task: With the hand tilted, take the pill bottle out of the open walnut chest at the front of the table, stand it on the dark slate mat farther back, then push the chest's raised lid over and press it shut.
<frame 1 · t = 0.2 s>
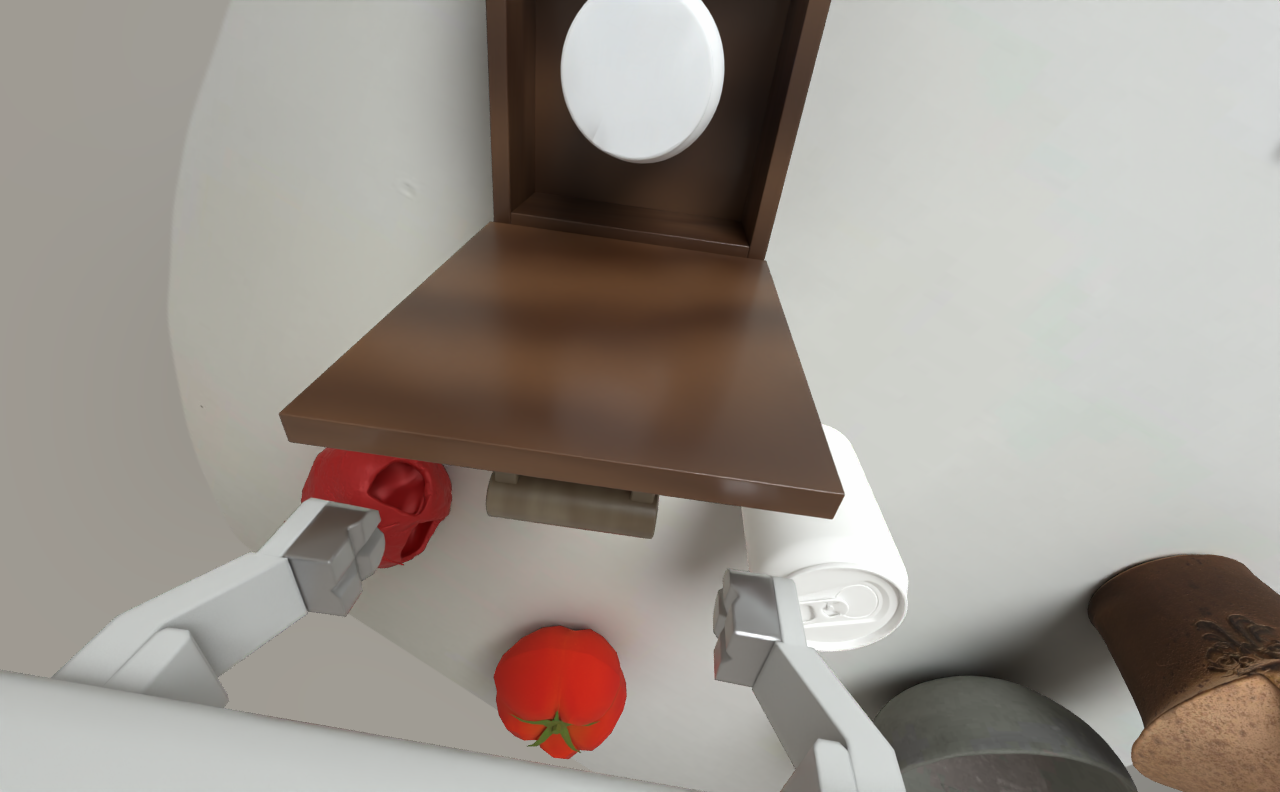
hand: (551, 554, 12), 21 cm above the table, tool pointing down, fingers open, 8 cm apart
beverage can: (793, 459, 37), on the table
bowl: (948, 691, 51), on the table
pitcher: (1160, 592, 41), on the table
chest: (654, 72, 24), on the table
chest lid: (601, 372, 19), point 13 cm above the table, hinge at 92.0°
tomato: (569, 643, 51), on the table
pill bottle: (653, 73, 24), point 1 cm above the table, touching chest
red crowned fruit: (403, 465, 40), on the table
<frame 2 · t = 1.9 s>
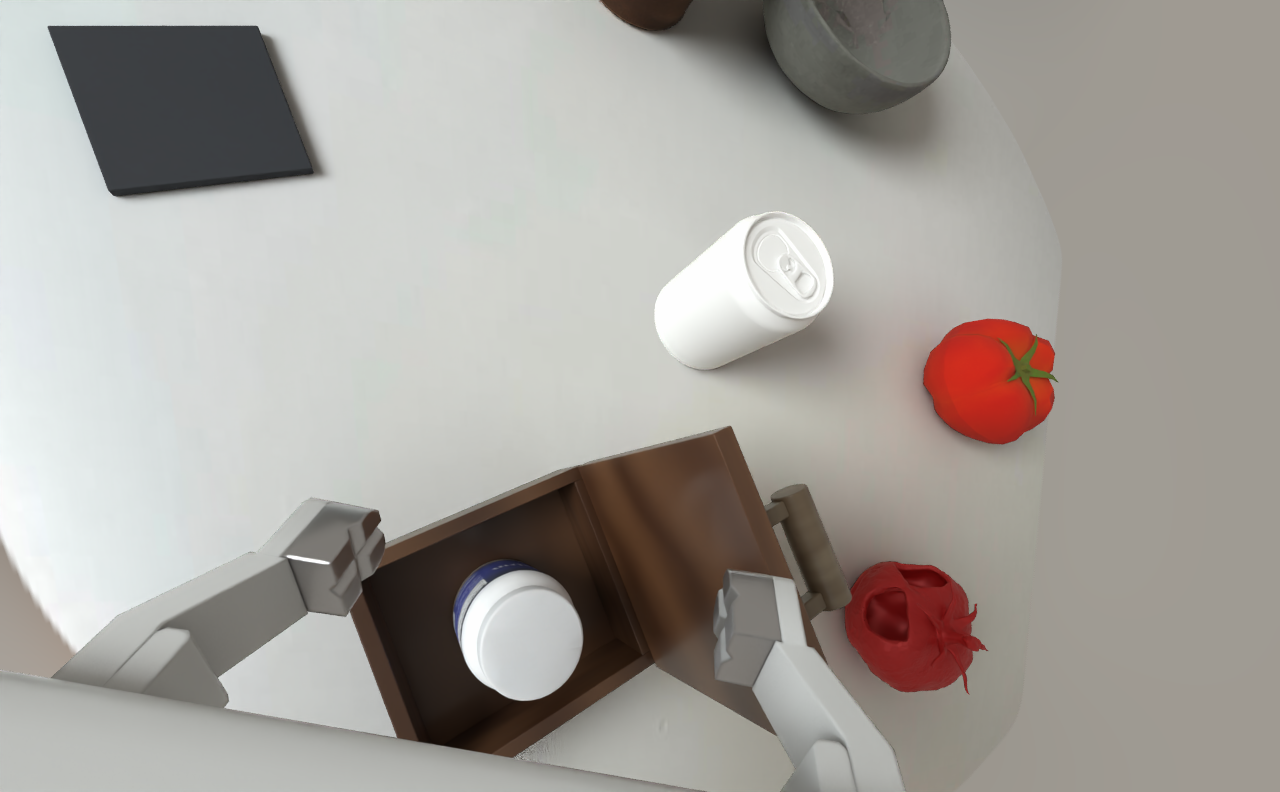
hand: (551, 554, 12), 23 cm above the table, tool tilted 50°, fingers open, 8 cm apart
beverage can: (693, 325, 43), on the table
bowl: (804, 64, 55), on the table
chest: (497, 603, 33), on the table
chest lid: (717, 556, 25), point 13 cm above the table, hinge at 92.0°
mat: (192, 108, 31), on the table
tomato: (947, 389, 54), on the table
pill bottle: (499, 604, 32), point 1 cm above the table, touching chest
red crowned fruit: (872, 614, 45), on the table
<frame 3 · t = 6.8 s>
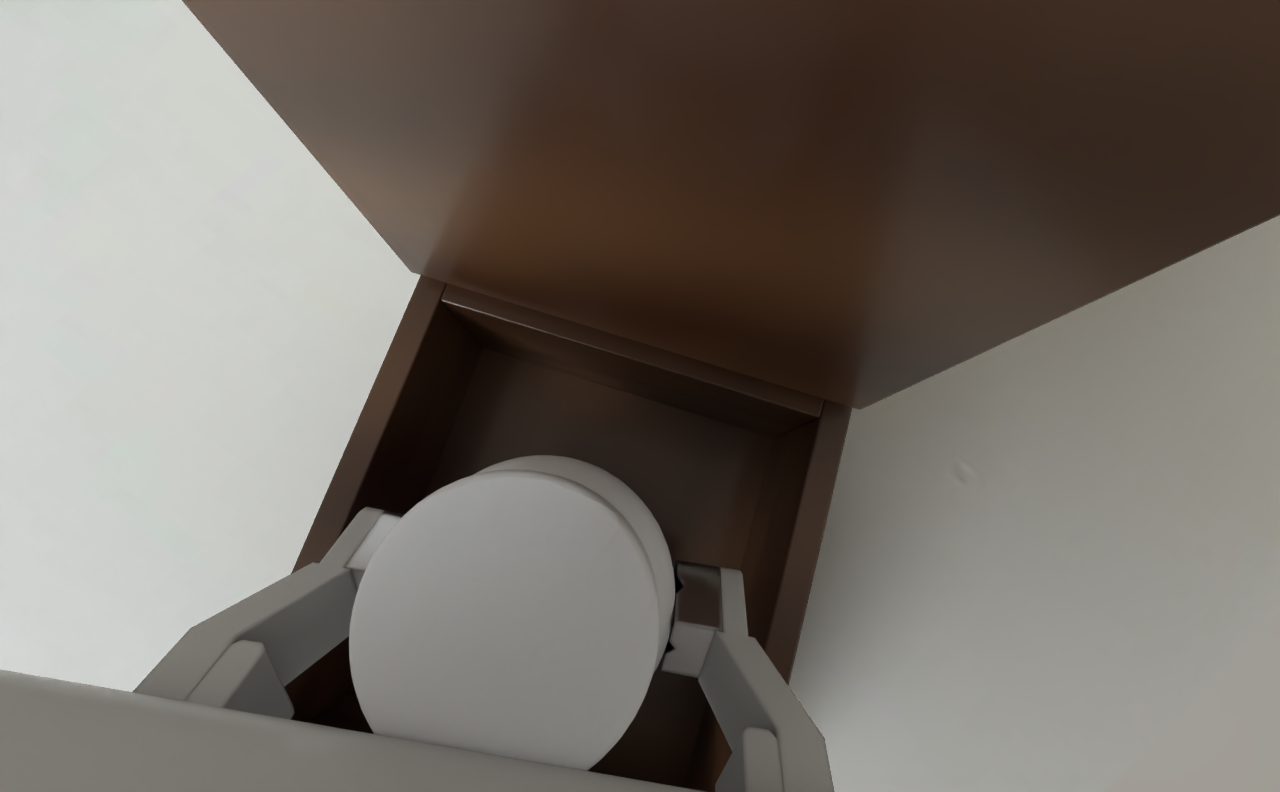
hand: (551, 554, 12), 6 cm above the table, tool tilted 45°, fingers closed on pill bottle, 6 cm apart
chest: (575, 555, 18), on the table
chest lid: (694, 7, 7), point 13 cm above the table, hinge at 92.0°
pill bottle: (573, 557, 17), point 1 cm above the table, touching chest, gripper
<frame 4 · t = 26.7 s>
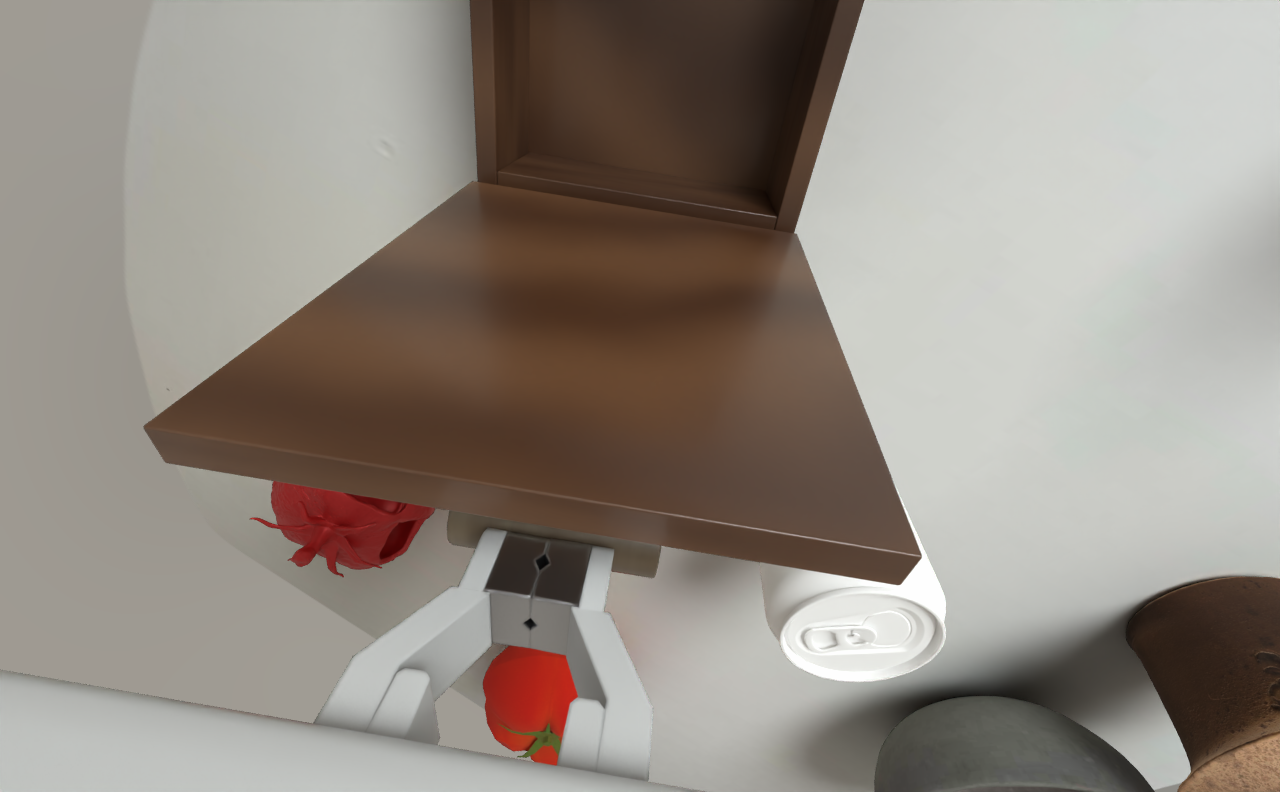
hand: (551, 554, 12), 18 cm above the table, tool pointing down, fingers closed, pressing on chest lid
beverage can: (811, 462, 33), on the table
bowl: (966, 709, 48), on the table
pitcher: (1208, 614, 38), on the table
chest: (669, 10, 21), on the table
chest lid: (597, 365, 15), point 13 cm above the table, hinge at 93.4°, touching gripper
tomato: (564, 647, 49), on the table
red crowned fruit: (386, 458, 37), on the table
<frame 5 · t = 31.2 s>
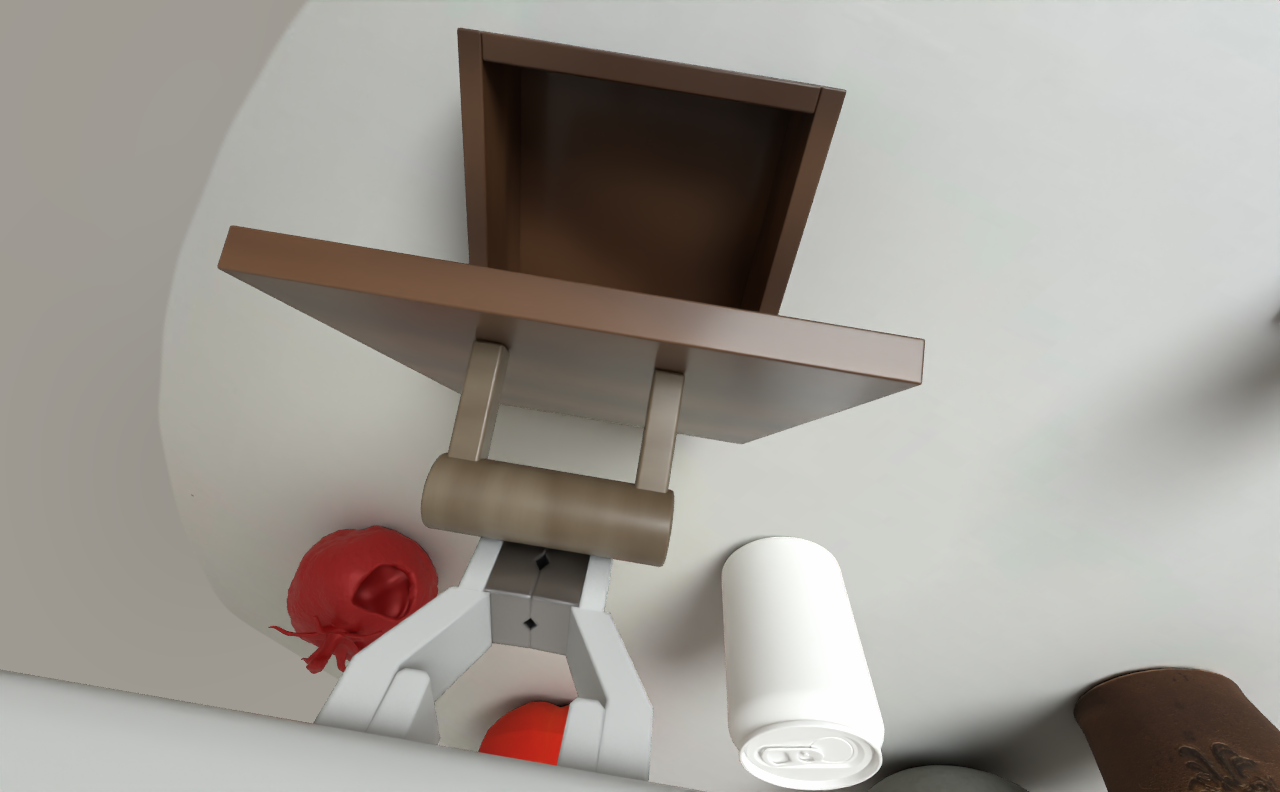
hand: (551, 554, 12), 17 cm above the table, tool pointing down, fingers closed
beverage can: (778, 566, 37), on the table
bowl: (934, 773, 51), on the table
pitcher: (1147, 698, 41), on the table
chest: (639, 228, 24), on the table
chest lid: (585, 446, 16), point 12 cm above the table, hinge at 47.1°
tomato: (555, 713, 52), on the table
red crowned fruit: (390, 554, 40), on the table
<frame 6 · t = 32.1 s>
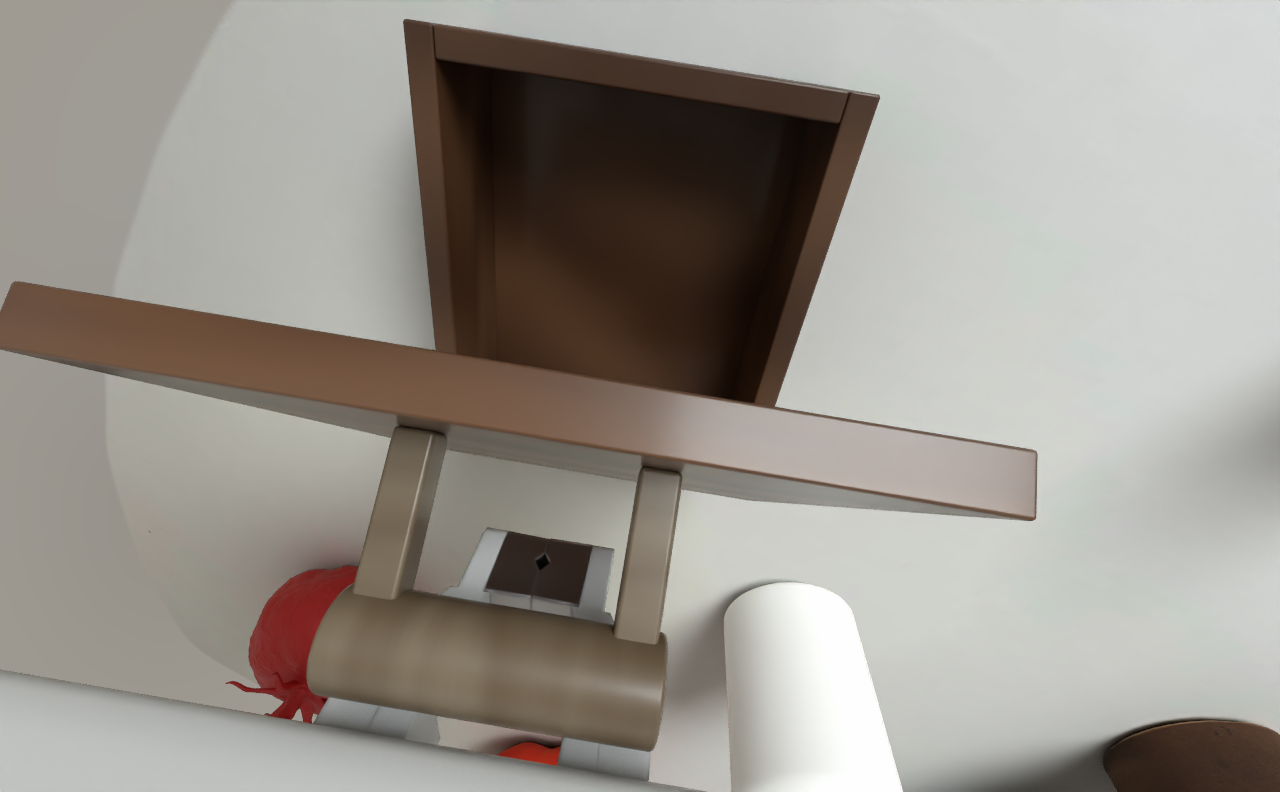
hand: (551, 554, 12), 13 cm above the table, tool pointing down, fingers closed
beverage can: (785, 611, 34), on the table
pitcher: (1183, 748, 38), on the table
chest: (631, 251, 21), on the table
chest lid: (560, 529, 13), point 12 cm above the table, hinge at 46.0°
tomato: (546, 753, 49), on the table
red crowned fruit: (366, 593, 37), on the table
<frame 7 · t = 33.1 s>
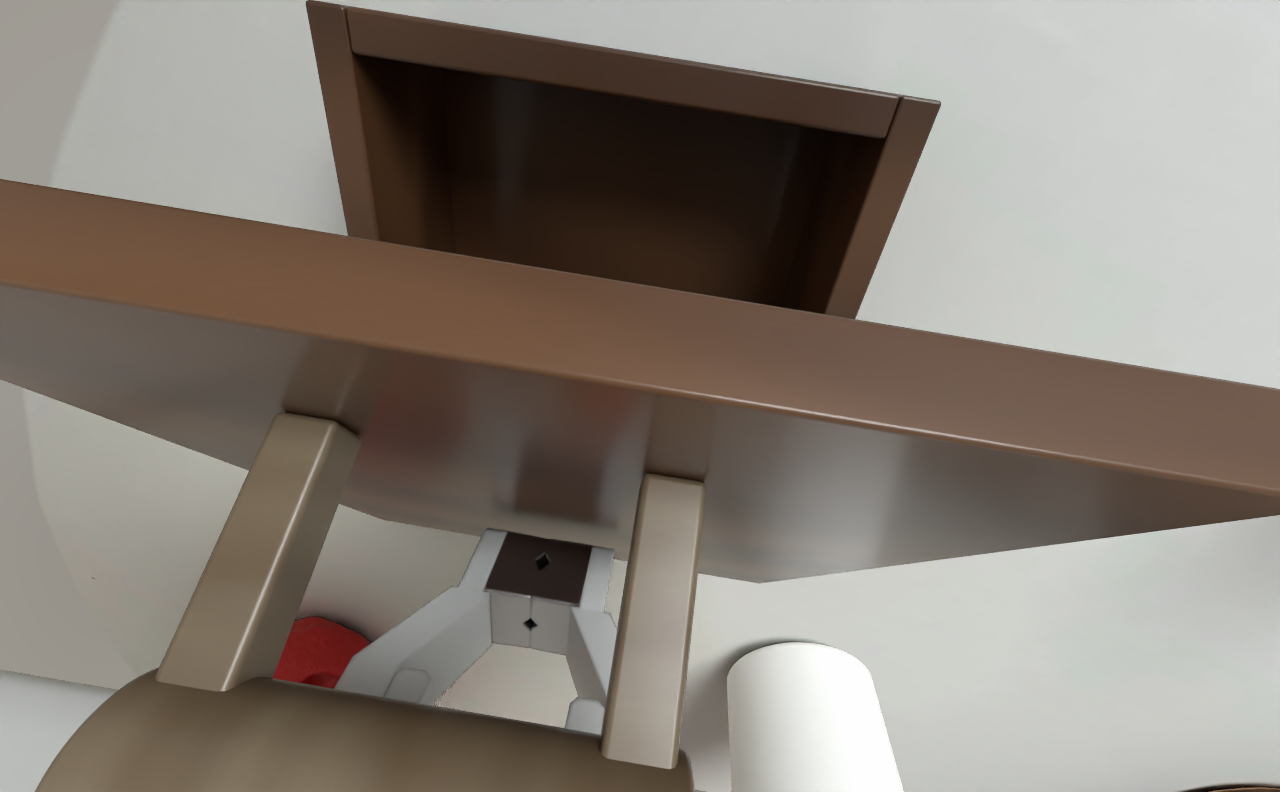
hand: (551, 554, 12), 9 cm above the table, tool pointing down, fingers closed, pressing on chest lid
beverage can: (795, 669, 30), on the table
chest: (619, 283, 18), on the table
chest lid: (526, 605, 10), point 12 cm above the table, hinge at 34.2°, touching gripper
red crowned fruit: (333, 643, 34), on the table
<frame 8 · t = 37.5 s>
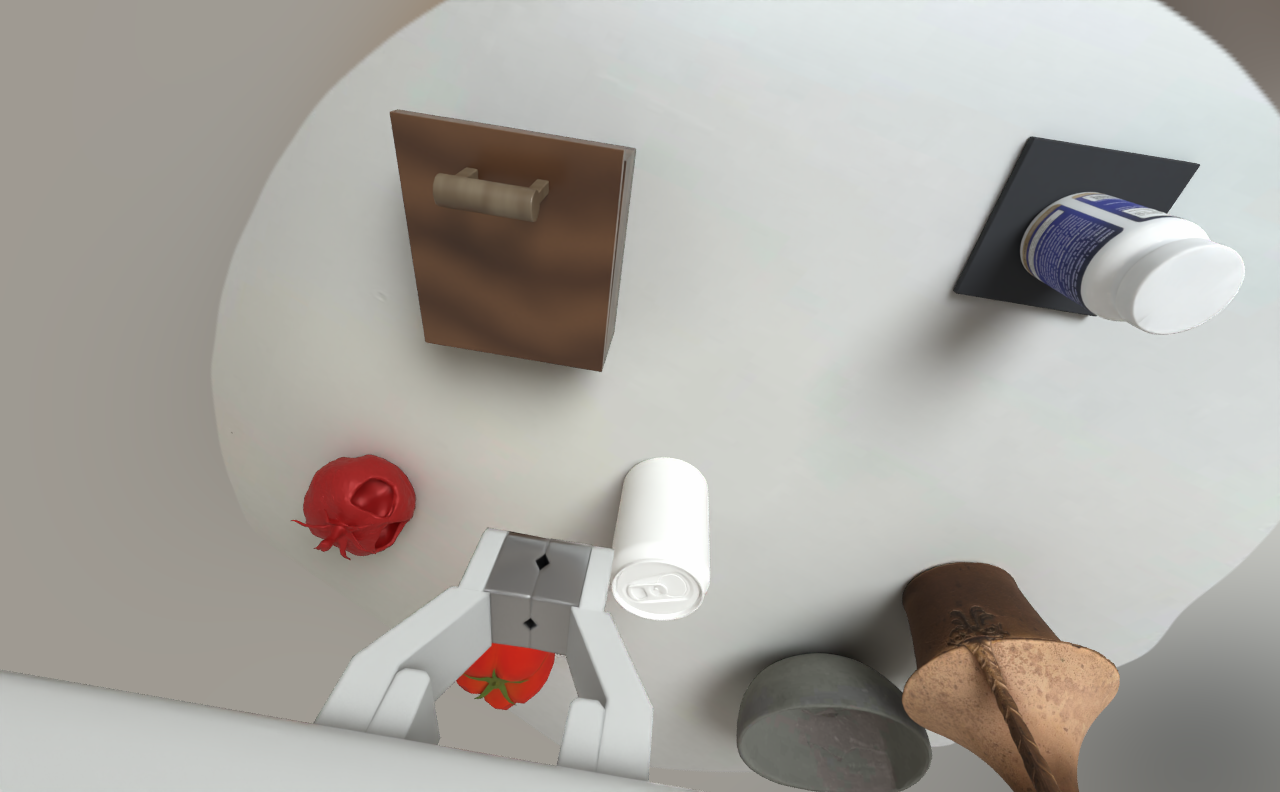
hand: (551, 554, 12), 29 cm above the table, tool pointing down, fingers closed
beverage can: (665, 484, 50), on the table
bowl: (814, 667, 64), on the table
pitcher: (954, 590, 54), on the table
chest: (539, 235, 37), on the table
chest lid: (501, 271, 30), point 8 cm above the table, hinge at 4.7°
mat: (1063, 231, 34), on the table
tomato: (513, 620, 64), on the table
pill bottle: (1064, 235, 34), resting on mat
red crowned fruit: (380, 479, 53), on the table
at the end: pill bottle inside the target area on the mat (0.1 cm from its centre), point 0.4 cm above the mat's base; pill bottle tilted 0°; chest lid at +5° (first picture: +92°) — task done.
